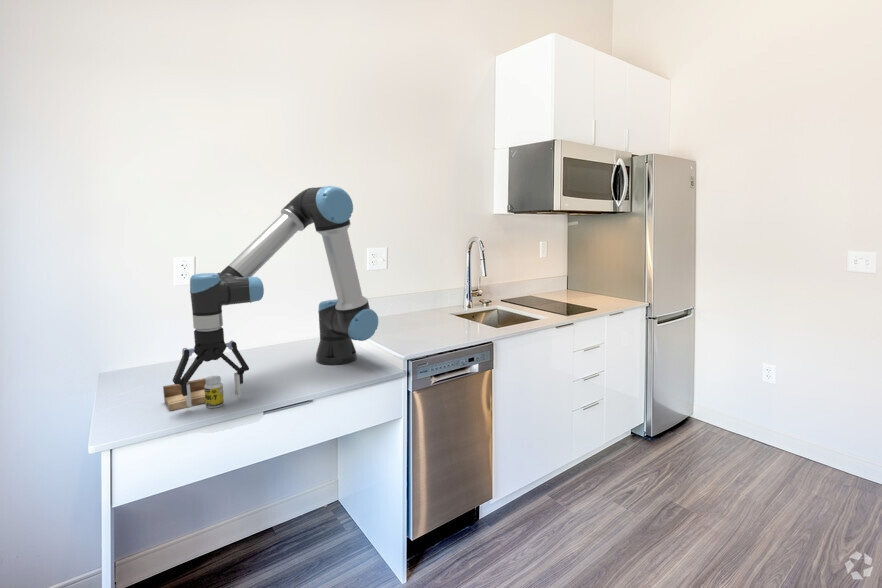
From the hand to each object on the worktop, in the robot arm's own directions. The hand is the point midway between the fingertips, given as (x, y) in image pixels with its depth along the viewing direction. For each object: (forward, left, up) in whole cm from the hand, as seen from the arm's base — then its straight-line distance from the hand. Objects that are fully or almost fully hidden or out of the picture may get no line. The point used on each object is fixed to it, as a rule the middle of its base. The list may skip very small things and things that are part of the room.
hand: (214, 400), depth 138 cm
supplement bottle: (0, 0, -2) cm, 2 cm away
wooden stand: (+4, -8, -2) cm, 9 cm away
